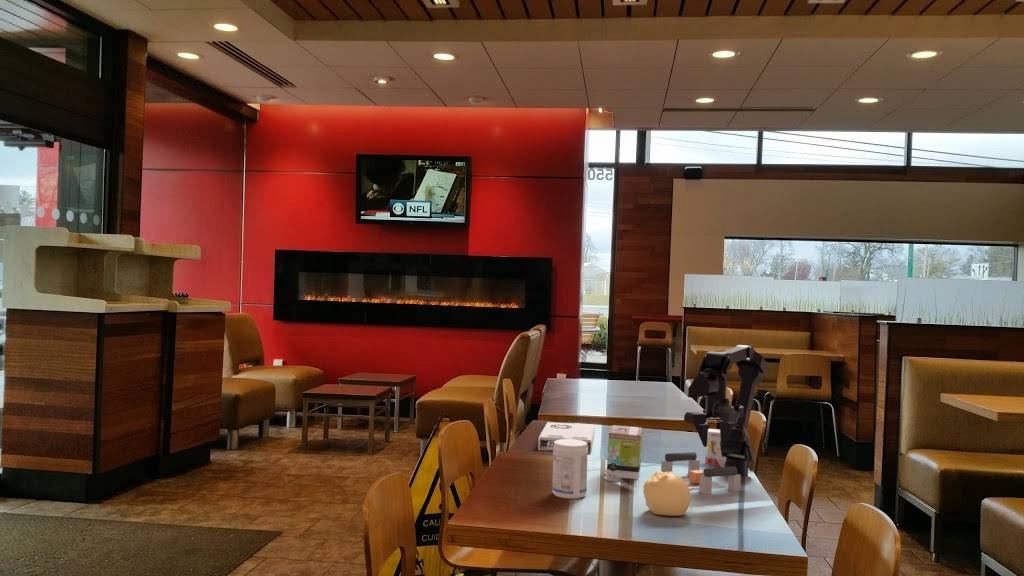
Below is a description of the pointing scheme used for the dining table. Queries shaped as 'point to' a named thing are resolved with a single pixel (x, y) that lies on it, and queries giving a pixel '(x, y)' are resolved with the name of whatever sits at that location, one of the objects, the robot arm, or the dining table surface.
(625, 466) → the tea box
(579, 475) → the supplement tub
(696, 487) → the panel
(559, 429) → the flat white box
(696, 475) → the block
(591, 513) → the dining table surface
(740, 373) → the robot arm
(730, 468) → the grey bar with posts
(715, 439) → the ink box
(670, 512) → the tan rounded lump
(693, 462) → the grey u-shaped handle
